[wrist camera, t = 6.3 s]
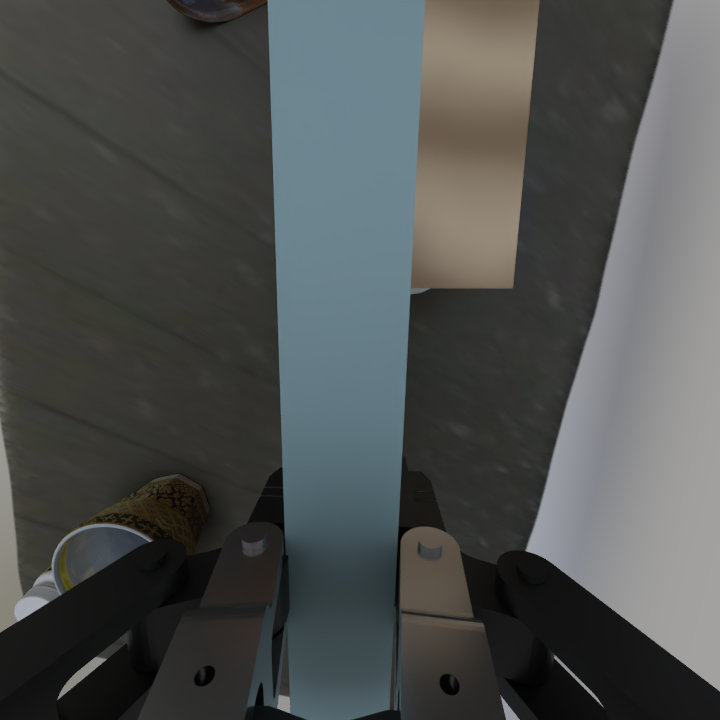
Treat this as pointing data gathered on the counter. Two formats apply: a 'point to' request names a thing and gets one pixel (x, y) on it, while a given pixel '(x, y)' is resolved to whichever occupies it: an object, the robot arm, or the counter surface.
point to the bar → (343, 330)
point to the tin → (215, 8)
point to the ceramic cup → (132, 528)
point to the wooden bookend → (472, 141)
